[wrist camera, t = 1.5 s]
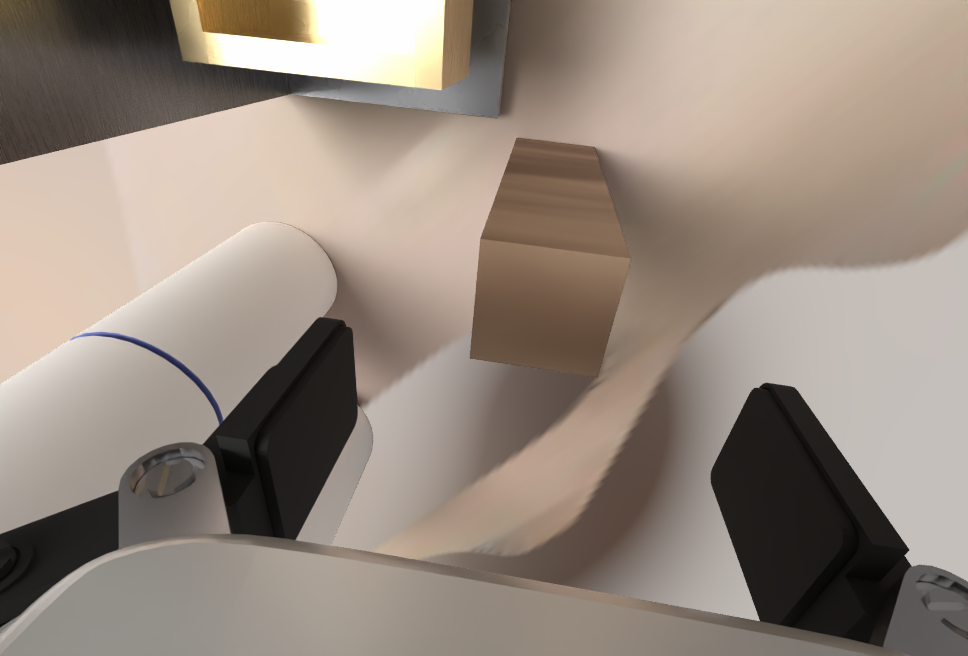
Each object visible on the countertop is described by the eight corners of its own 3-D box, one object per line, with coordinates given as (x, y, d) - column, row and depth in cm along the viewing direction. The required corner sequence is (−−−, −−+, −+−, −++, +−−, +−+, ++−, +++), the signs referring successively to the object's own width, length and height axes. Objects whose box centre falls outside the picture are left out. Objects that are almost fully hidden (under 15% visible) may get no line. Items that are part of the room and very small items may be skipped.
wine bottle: (256, 362, 35) (-503, 1206, 10) (380, 390, 35) (-71, 1316, 10) (266, 449, 40) (-214, 1146, 15) (374, 473, 40) (71, 1216, 15)
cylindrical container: (352, 258, 29) (-157, 834, 8) (318, 337, 33) (-94, 872, 12) (243, 199, 28) (-670, 697, 7) (220, 288, 32) (-425, 787, 11)
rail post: (516, 137, 24) (480, 238, 13) (594, 147, 24) (631, 258, 12) (507, 212, 26) (469, 358, 15) (578, 221, 26) (597, 377, 14)
